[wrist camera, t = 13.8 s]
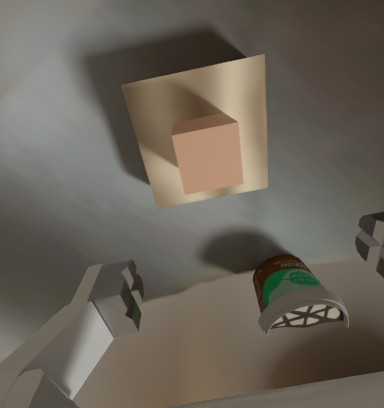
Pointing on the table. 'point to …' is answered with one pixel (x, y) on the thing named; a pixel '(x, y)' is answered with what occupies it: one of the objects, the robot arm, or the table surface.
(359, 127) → the table surface
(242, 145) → the birch plinth
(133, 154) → the table surface
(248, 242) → the table surface
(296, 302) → the food container
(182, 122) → the terracotta block
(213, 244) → the table surface
